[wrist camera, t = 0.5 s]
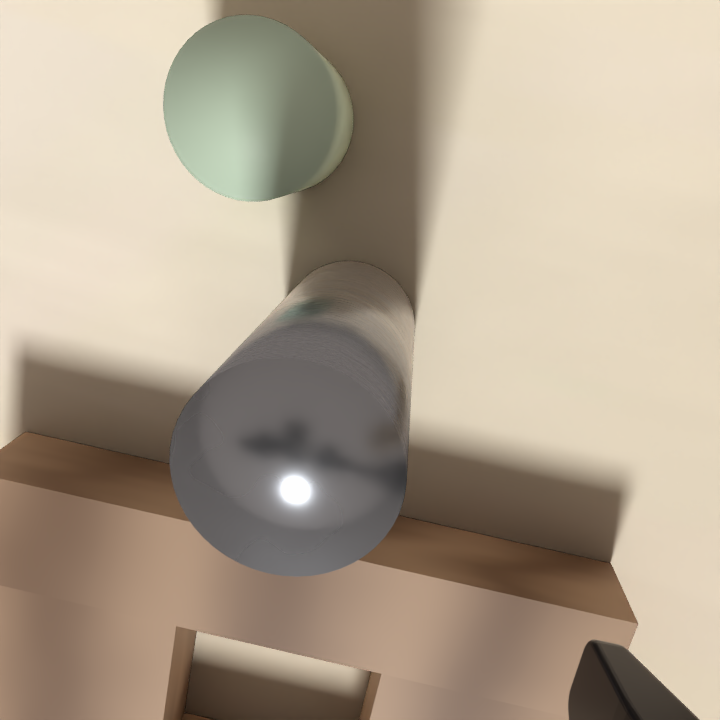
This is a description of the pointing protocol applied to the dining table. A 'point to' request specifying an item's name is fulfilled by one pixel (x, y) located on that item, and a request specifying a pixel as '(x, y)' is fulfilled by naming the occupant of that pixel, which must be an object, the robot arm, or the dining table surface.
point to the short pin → (256, 109)
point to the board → (271, 604)
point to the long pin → (304, 428)
